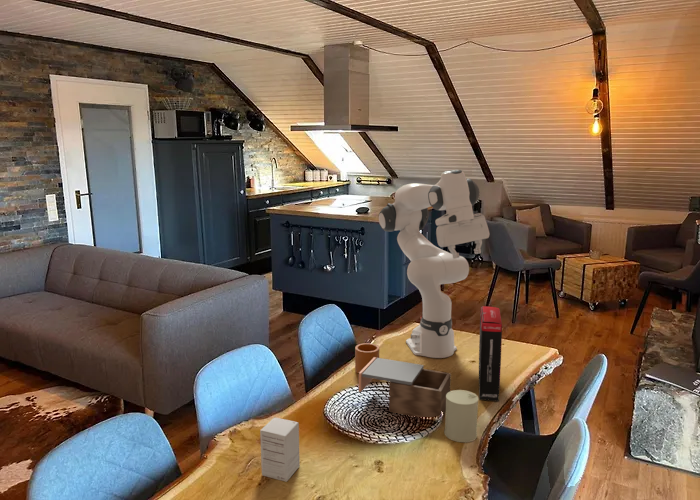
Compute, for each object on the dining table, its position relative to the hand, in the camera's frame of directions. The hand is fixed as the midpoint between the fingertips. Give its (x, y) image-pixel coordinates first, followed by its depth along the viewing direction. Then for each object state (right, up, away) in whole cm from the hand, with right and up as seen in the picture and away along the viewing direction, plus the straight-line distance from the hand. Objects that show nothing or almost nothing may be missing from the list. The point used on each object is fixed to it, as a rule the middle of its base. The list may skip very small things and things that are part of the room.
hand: (467, 255), depth 188 cm
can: (-9, -51, -31) cm, 60 cm away
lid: (-27, -42, -12) cm, 52 cm away
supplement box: (-58, -55, -49) cm, 93 cm away
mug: (-33, -42, +14) cm, 56 cm away
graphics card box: (+6, -46, -3) cm, 46 cm away
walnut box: (-18, -48, -15) cm, 53 cm away
